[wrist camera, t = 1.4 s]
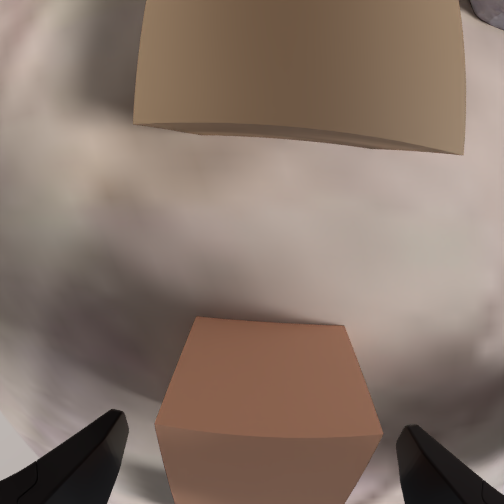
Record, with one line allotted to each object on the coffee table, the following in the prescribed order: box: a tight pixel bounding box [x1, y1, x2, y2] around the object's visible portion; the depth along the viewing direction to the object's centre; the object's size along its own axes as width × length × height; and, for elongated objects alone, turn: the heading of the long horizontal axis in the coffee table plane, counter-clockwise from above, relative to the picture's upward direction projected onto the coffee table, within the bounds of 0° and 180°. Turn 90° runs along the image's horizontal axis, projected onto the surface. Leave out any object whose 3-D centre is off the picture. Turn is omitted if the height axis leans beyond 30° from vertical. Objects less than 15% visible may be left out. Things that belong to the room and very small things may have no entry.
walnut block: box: [133, 0, 466, 155], centre depth 6 cm, size 5×5×5 cm
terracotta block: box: [154, 316, 383, 504], centre depth 9 cm, size 5×5×5 cm
